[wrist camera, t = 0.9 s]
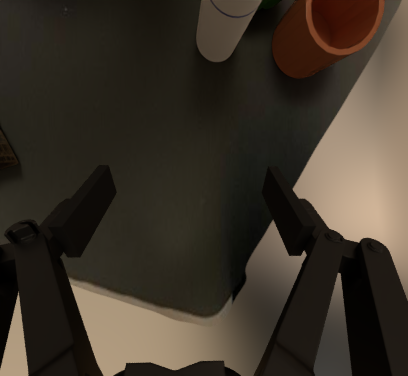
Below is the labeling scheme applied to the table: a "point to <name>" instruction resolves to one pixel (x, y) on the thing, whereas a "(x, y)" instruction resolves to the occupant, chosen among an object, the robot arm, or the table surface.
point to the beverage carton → (6, 153)
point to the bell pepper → (267, 4)
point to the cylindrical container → (223, 26)
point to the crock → (323, 33)
